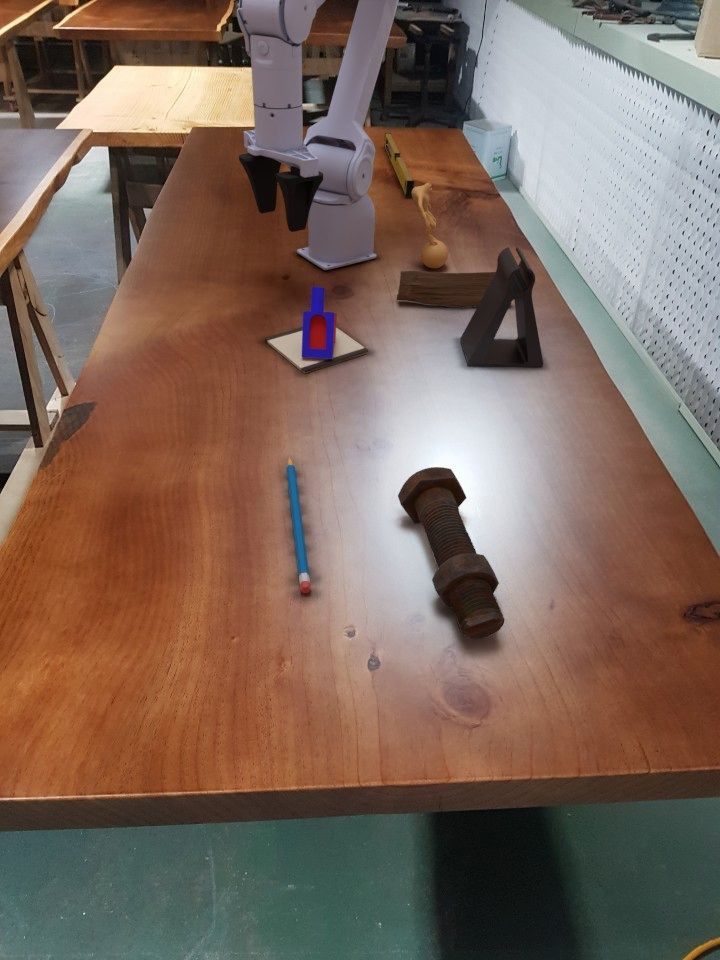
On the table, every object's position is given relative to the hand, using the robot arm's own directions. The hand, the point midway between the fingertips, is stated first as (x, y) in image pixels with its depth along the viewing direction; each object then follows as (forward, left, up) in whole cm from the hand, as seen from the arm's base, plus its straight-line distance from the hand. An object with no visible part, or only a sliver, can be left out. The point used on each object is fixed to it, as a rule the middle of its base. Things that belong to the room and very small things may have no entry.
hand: (281, 220), depth 92 cm
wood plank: (-17, +16, -10) cm, 25 cm away
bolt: (+16, +53, -10) cm, 56 cm away
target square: (+5, +16, -9) cm, 19 cm away
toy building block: (+5, +17, -9) cm, 20 cm away
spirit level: (-48, -36, -10) cm, 61 cm away
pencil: (+23, +41, -9) cm, 48 cm away
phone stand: (-13, +29, -10) cm, 33 cm away
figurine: (-22, +4, -10) cm, 24 cm away
